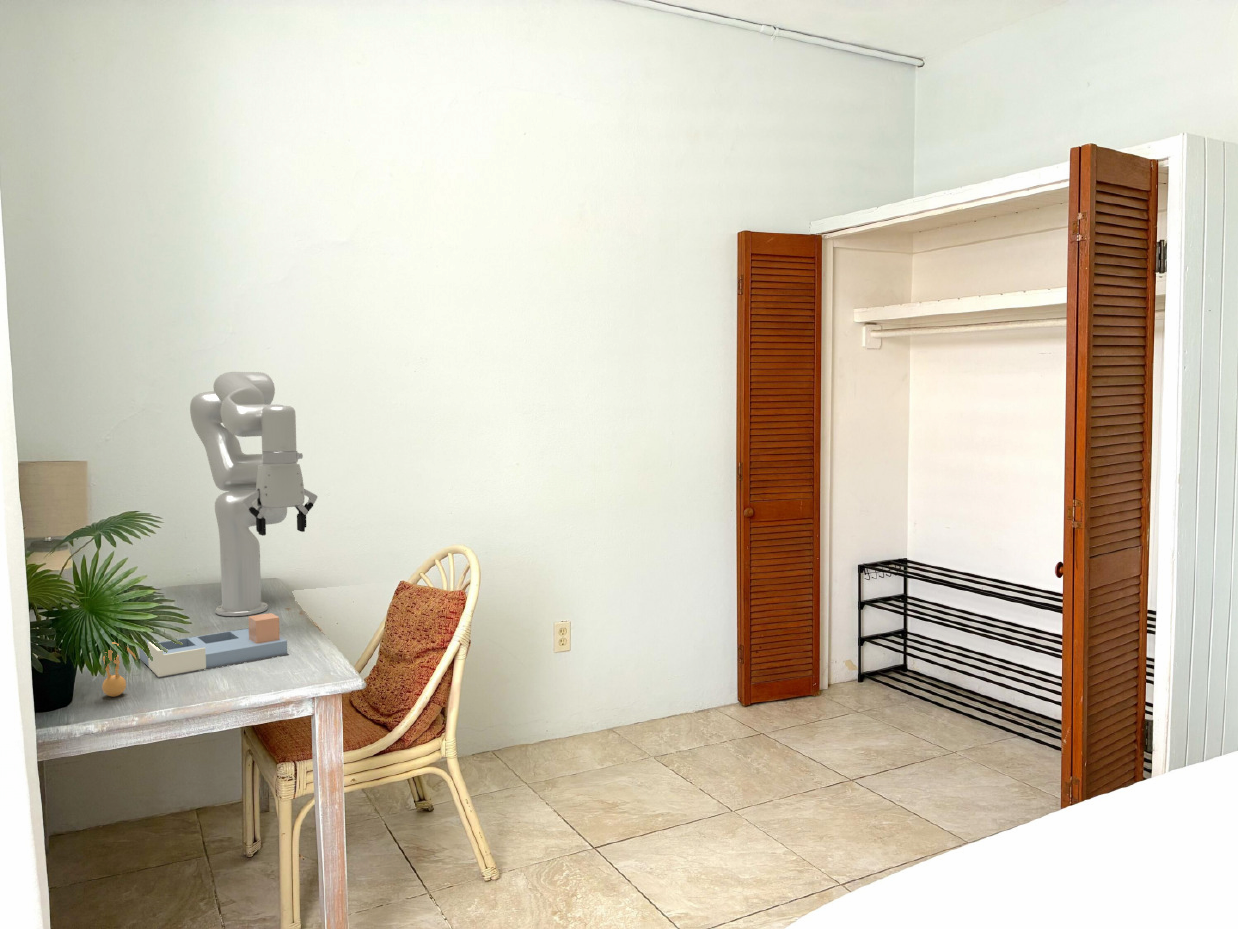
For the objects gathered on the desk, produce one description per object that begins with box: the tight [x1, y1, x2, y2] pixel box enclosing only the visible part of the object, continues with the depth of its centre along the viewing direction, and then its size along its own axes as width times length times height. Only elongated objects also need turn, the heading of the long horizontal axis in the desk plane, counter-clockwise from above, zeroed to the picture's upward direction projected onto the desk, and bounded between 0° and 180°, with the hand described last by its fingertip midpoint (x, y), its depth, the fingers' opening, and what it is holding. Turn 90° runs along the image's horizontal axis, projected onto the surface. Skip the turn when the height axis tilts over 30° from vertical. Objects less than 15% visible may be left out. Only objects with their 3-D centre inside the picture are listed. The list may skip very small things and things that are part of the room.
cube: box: [247, 612, 281, 644], centre depth 202 cm, size 5×5×5 cm
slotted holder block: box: [138, 627, 290, 679], centre depth 199 cm, size 17×26×6 cm, turn 129°
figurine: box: [101, 641, 137, 698], centre depth 173 cm, size 8×6×12 cm
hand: (281, 532), depth 215 cm, fingers open, 8 cm apart
